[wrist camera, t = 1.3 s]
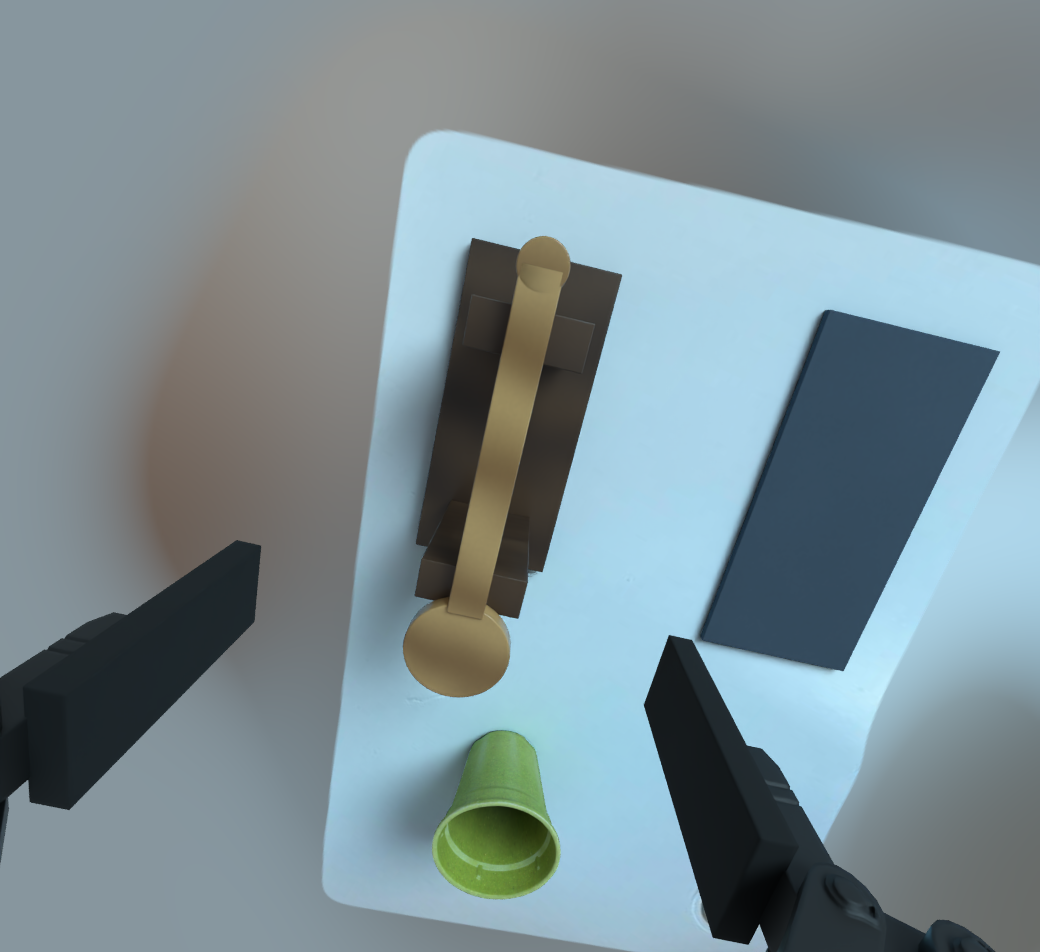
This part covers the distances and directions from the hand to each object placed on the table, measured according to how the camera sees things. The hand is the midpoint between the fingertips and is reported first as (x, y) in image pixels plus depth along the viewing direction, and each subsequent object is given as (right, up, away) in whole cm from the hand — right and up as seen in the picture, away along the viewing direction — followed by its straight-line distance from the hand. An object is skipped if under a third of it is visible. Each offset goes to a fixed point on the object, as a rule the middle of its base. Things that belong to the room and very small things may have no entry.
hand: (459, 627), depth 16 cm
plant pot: (0, -20, +29) cm, 35 cm away
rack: (+1, +9, +20) cm, 22 cm away
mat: (+25, +3, +21) cm, 33 cm away
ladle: (0, +4, +10) cm, 11 cm away
